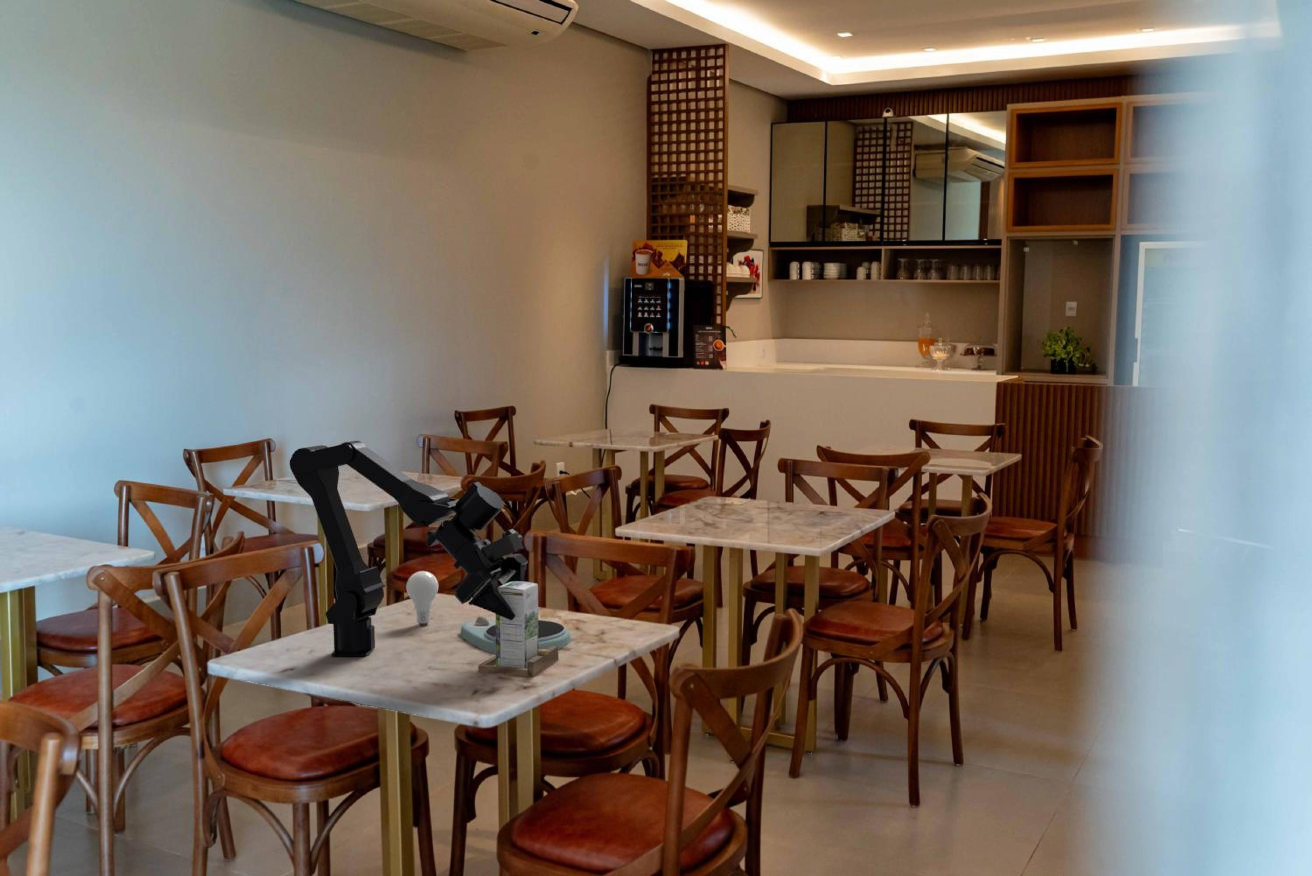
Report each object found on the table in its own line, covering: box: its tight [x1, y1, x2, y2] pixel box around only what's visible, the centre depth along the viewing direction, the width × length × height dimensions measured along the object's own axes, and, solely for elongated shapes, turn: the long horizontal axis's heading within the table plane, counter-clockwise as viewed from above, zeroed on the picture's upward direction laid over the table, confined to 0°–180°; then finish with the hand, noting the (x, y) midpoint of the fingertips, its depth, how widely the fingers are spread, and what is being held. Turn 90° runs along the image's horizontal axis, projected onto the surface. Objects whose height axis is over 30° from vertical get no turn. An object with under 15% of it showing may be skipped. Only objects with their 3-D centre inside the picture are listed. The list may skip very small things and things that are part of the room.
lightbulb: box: [406, 570, 439, 626], centre depth 230 cm, size 6×6×11 cm
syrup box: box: [495, 581, 539, 668], centre depth 199 cm, size 6×6×14 cm
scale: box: [460, 615, 572, 654], centre depth 218 cm, size 18×4×25 cm
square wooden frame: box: [477, 646, 559, 677], centre depth 199 cm, size 11×11×3 cm
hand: (523, 612), depth 198 cm, fingers open, 8 cm apart
